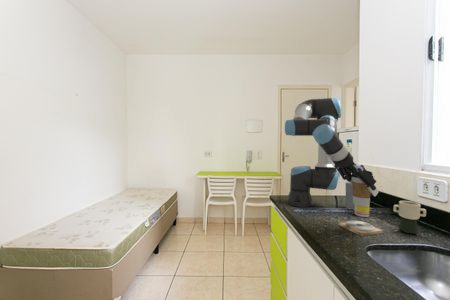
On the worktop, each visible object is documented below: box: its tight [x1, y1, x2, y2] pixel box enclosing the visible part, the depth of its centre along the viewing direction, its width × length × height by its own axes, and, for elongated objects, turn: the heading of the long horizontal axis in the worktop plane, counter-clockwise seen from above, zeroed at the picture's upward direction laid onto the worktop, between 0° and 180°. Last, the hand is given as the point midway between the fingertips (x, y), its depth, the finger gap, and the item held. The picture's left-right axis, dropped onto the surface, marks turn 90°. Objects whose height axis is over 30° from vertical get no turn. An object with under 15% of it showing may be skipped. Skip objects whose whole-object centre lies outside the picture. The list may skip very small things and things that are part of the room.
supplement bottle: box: [354, 199, 371, 218], centre depth 116 cm, size 7×7×13 cm
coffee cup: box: [351, 170, 374, 207], centre depth 96 cm, size 8×8×15 cm
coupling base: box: [338, 220, 384, 237], centre depth 98 cm, size 12×12×2 cm
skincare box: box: [345, 181, 355, 211], centre depth 126 cm, size 8×7×16 cm
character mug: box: [393, 200, 427, 235], centre depth 95 cm, size 11×7×13 cm, turn 55°
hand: (367, 191), depth 98 cm, fingers closed on coffee cup, 8 cm apart
